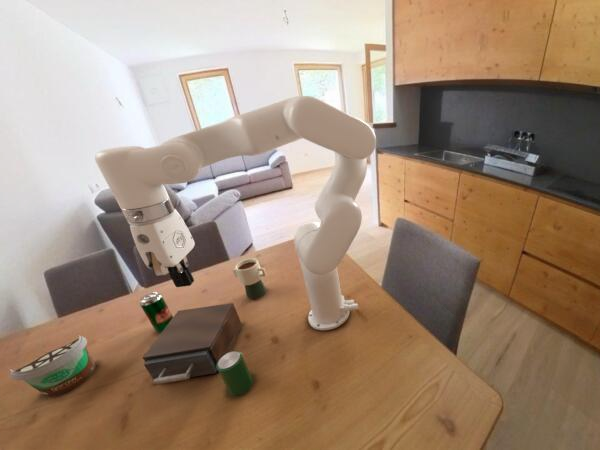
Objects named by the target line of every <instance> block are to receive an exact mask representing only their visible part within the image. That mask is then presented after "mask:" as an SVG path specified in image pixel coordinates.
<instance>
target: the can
mask: <svg viewBox="0 0 600 450" xmlns="http://www.w3.org/2000/svg"><path fill="white" fill-rule="evenodd" d="M216 367H217V370H218V371H217V372H218V373H219V376H220V377H221V379H222V382H223V384H224V385H225V387H226V389H227V391H228V393H229V394H230V395H231V396H232V397H238V396H241V395H243V394H245V393H246V392H248V390H249V389H250V388H251V387H252V385H253V377H252V375H251V372H250V369H249V367H248V366H247V363H246V360H245V358H244V356H243V354H242V352H241V351H238V350H231V351H230V352H229V353H227V354H225V355H224V356H222V357H221V358H220V359H219V361H218V362H217V365H216Z"/></svg>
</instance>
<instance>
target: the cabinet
mask: <svg viewBox="0 0 600 450" xmlns="http://www.w3.org/2000/svg"><path fill="white" fill-rule="evenodd" d="M242 325H243V324H242V322H241V319H240V317H239V314H238V312H237V309H236V307H235V304H234V303H233V302H229V303H222V304H215V305H208V306H201V307H195V308H188V309H181V310H177V312H176V313H175V314H174V315H173V318H172V320H171V321H170V322H169V324H168V325H167V326H166V328H165V329H164V330H163V331H162V332H160V333H159V335H158V336H157V337H156V339H155V340H154V342H153V343H152V344H151V345H150V347H149V348H148V349H147V351H146V352H145V353H144V355H143V356H142V360H143V361H144V363H145V362H146V360H151V359H157V358H160V357H166V356H172V355H178V354H184V353H190V352H196V351H203V350H208V351H209V353H210V355H211V357H212V359H213V361H214V363H215V365H217V362H218V361H219V359H220V358H221V357H222V356H224V355H225V354H227V353H229V352H231V351H232V348H233V346H234V343H235V341H236V339H237V337H238V335H239V333H240V330H241V329H242ZM216 372H218V370H217V371H216Z"/></svg>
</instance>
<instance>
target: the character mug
mask: <svg viewBox="0 0 600 450" xmlns="http://www.w3.org/2000/svg"><path fill="white" fill-rule="evenodd" d="M232 273H233V276H234V277H235V278H238V280H239V283H240V284H241V285H242V286H244V290H245V294H246V298H247V299H249V300H256V299H259V298H261V297H263V296H264V295H265V294H266V292H267V288H266V286H265V285H264V283H263V281H262V277H266V276H267V272H266V269H265V267H261V265H260V263H259V260H258V259H257V258H254V257H252V258H251V257H250V258H246V259H243V260H241V261H239V262H238V263H236V265H235V266H234V268H232Z"/></svg>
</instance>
